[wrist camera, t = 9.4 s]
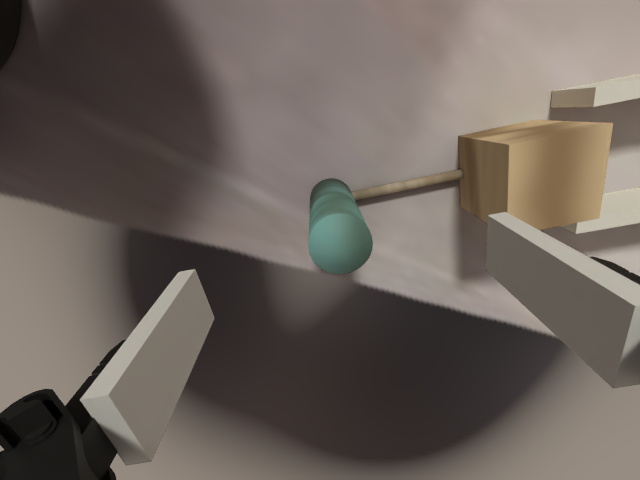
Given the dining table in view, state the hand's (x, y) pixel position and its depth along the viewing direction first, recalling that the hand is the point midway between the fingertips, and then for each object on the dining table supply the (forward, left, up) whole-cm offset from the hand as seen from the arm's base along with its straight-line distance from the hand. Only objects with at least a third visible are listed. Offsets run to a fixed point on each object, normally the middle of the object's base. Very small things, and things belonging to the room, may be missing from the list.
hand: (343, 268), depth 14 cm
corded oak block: (+8, 0, -14) cm, 16 cm away
